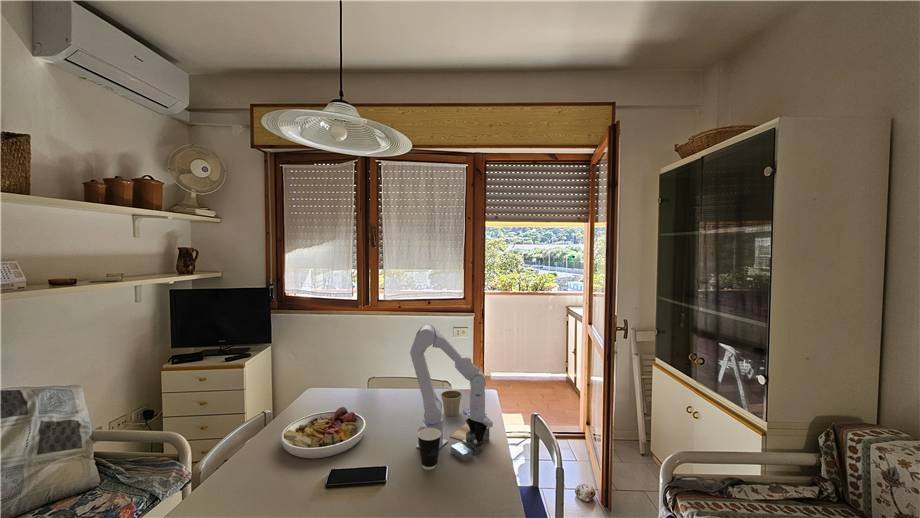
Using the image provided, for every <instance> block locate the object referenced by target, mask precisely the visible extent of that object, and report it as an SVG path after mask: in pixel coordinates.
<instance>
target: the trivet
mask: <svg viewBox="0 0 920 518" xmlns="http://www.w3.org/2000/svg"><path fill="white" fill-rule="evenodd" d="M469 431H470V428H469V426H468V424H467V422H466V423H465V424H463V425H462V426H460V428H458V429H457V430H456V431H455V432H453V433H452V434H451V435H450V436H449V437H450V438H451V439H452V438H453V439H456V440H458V441H461V442H463V440H465V439H466V432H469Z"/></svg>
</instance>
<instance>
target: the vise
mask: <svg viewBox="0 0 920 518" xmlns="http://www.w3.org/2000/svg"><path fill="white" fill-rule="evenodd" d="M474 444H475V445H476V444H477V439H474ZM450 453H451V454H452V455H453V456H455V457H457V458H458V459H459V460H461V462H465V461H469V460H470V459H472V458H473V454H472V450H471V449H469V448H468V447H466V446H465V445H463V442H460V441H459V442H456V443H454V444H452V445H450Z"/></svg>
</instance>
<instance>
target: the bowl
mask: <svg viewBox="0 0 920 518" xmlns="http://www.w3.org/2000/svg"><path fill="white" fill-rule="evenodd" d="M366 424H367V423H366V420H365V418H364V417H363V416H361V415H360V414H358V413H355V412H354V411H348V409H347V408H346V407H344V406H340V407H339V408H337V409H336V410H328V411H322V412H321V411H320V412H317V413H316V412H315V413H312V414H309V415H306V416H303V417H301V418H299V419H296V420H295V421H293V422H291V423H290V424H289V425H287V426H285V428H284V429H283V431H282V433H281V438H280V439H281V444H282V446H283V448H284V450H285V451H286V452H288V453H289V454H291V455H292V456H295V457H298V458H303V459H321V458H328V457H331V456H335V455H338V454H341V453H343V452H346V451H348V450H350V448H351V449H352V448H353V447H354V446H355V445H356V444H358V443H359V442H360V441H361V439H362V438H363V436H364V434H365V432H366Z"/></svg>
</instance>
